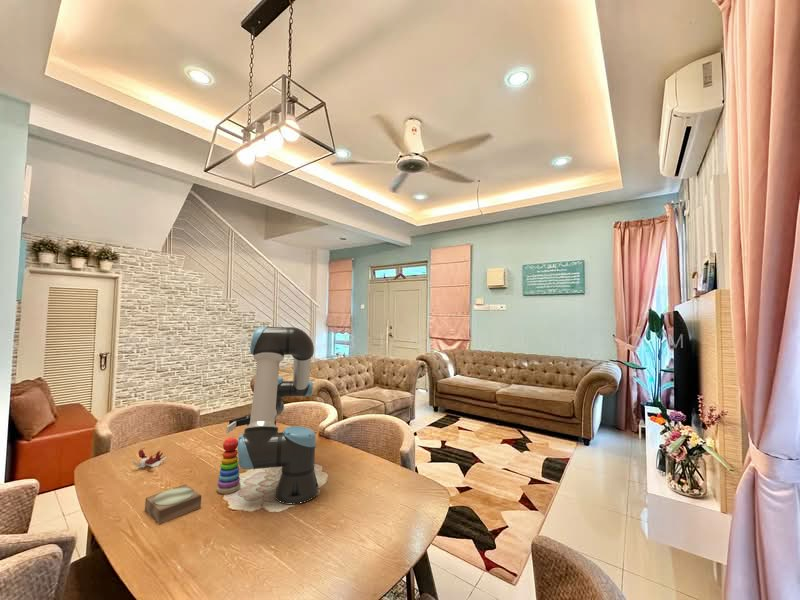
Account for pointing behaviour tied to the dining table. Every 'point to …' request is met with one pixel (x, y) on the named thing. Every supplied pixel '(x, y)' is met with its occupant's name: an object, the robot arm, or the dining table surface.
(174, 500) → the walnut plinth
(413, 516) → the dining table surface
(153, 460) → the figurine
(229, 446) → the stacking toy
